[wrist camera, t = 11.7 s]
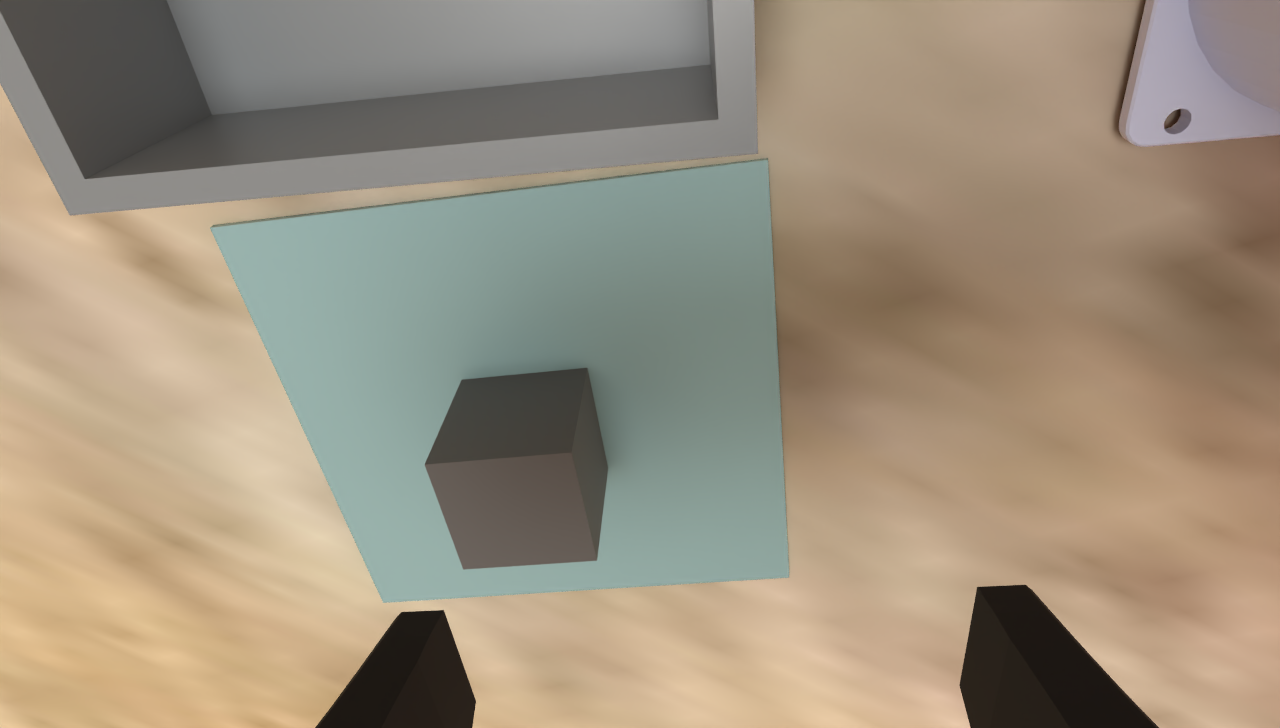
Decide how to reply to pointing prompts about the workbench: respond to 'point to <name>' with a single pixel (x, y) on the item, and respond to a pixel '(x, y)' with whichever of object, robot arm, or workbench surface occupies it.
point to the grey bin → (366, 92)
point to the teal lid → (537, 379)
